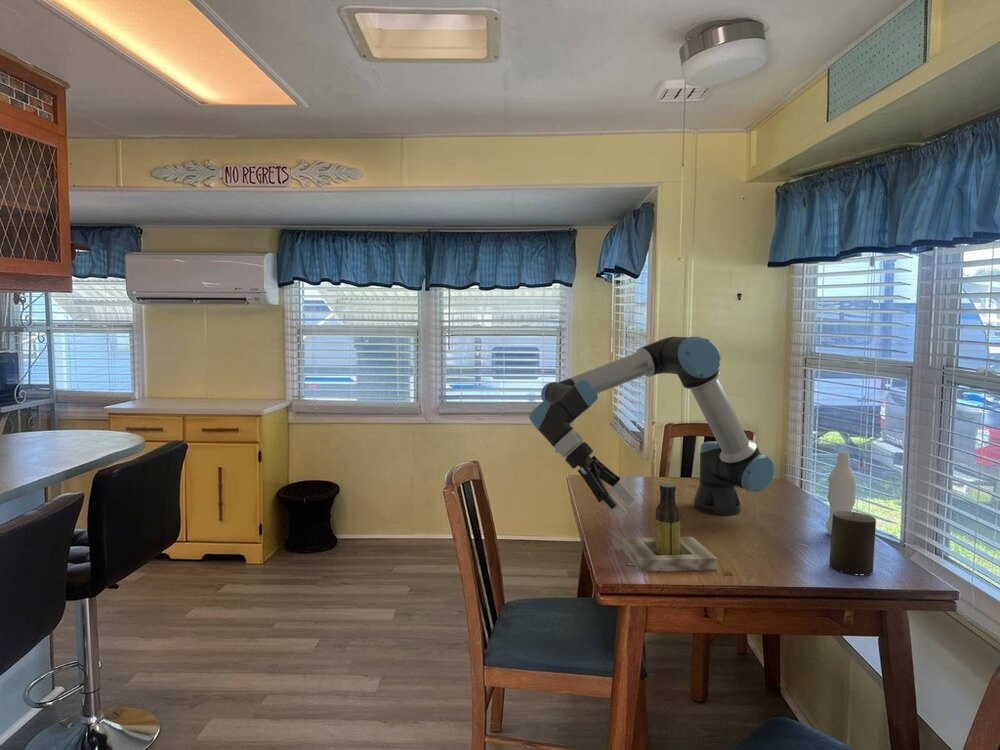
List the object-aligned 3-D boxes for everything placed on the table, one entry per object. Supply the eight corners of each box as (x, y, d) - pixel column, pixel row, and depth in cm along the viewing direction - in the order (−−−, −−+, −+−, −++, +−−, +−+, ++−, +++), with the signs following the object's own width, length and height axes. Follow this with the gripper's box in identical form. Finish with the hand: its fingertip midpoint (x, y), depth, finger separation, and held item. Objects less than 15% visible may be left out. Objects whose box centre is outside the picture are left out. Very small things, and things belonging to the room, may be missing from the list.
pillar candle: (857, 578, 149) (861, 518, 148) (820, 564, 157) (824, 508, 156) (881, 572, 153) (885, 514, 152) (844, 559, 162) (847, 503, 161)
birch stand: (691, 547, 169) (692, 536, 169) (717, 570, 153) (717, 558, 153) (621, 548, 167) (621, 538, 167) (639, 571, 152) (639, 560, 151)
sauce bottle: (676, 555, 163) (678, 482, 162) (682, 564, 157) (684, 488, 156) (652, 554, 164) (654, 481, 162) (657, 563, 157) (659, 487, 156)
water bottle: (850, 533, 182) (854, 450, 180) (855, 540, 176) (860, 455, 174) (823, 530, 185) (827, 449, 183) (828, 537, 178) (832, 453, 176)
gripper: (574, 450, 180) (624, 505, 176) (552, 467, 157) (609, 531, 153) (592, 433, 178) (643, 489, 174) (573, 449, 154) (631, 513, 150)
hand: (627, 509), depth 163 cm, fingers open, 13 cm apart
